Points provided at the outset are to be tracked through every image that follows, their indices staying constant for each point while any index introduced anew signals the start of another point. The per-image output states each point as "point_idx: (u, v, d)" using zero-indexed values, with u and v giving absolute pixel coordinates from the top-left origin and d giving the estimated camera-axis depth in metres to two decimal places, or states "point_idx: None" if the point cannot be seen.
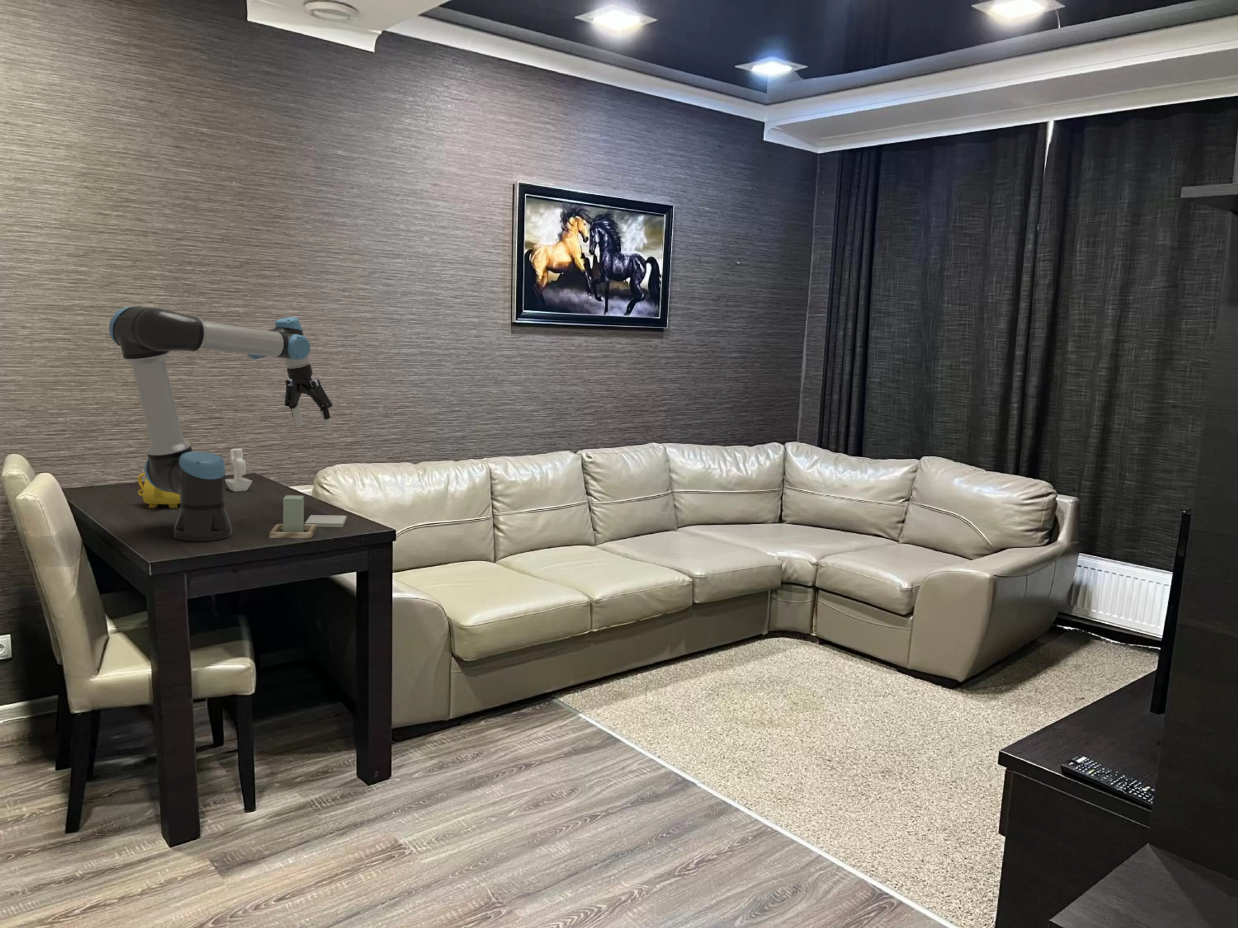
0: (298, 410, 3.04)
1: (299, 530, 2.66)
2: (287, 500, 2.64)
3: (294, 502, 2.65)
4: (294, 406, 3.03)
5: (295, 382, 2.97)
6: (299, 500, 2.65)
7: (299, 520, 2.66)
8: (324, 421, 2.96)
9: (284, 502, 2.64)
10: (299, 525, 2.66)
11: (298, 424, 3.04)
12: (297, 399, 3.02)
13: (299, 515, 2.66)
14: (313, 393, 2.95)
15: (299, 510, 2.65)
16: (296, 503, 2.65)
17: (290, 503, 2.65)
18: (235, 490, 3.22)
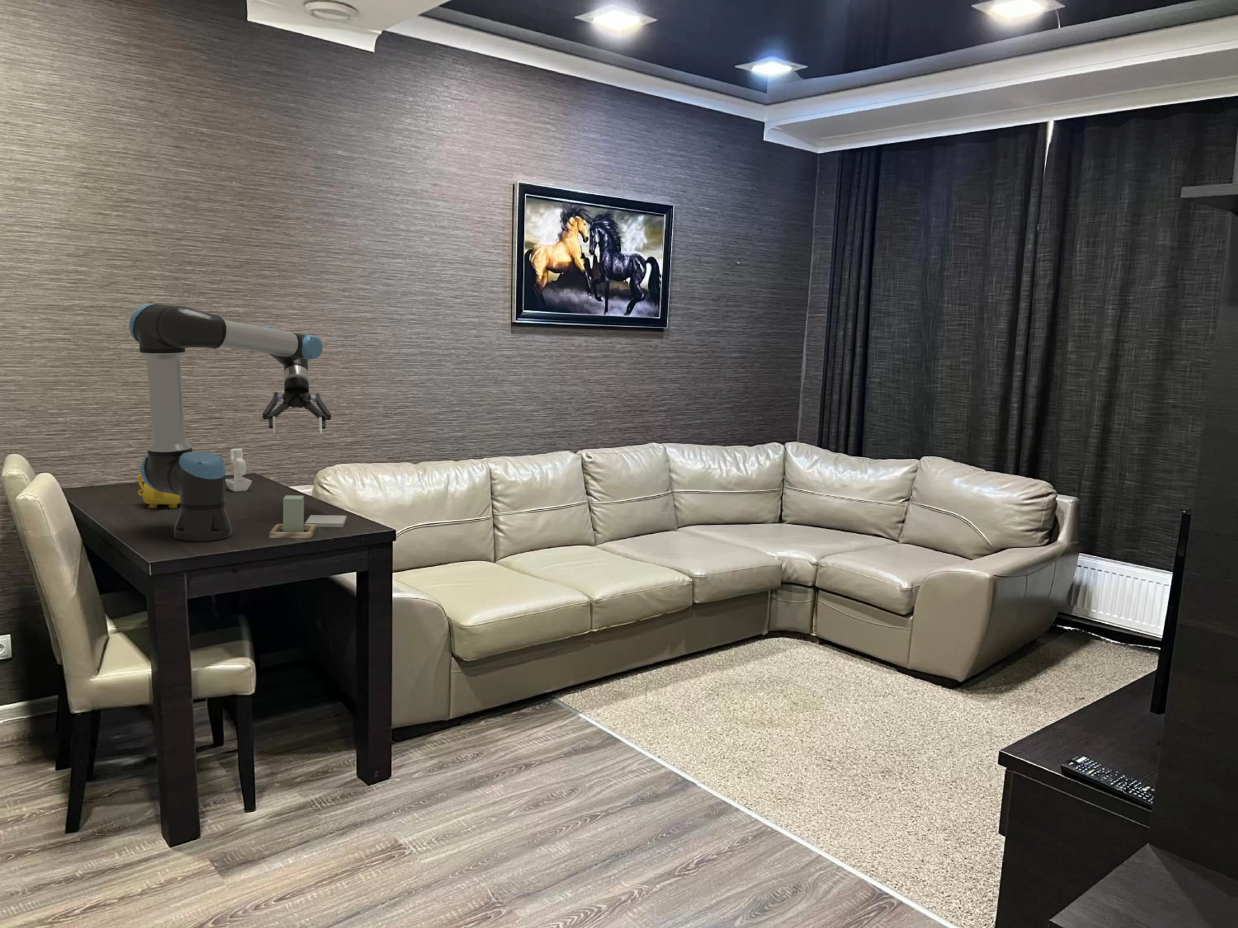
0: None
1: (299, 530, 2.66)
2: (287, 500, 2.64)
3: (294, 502, 2.65)
4: None
5: (290, 394, 2.88)
6: (299, 500, 2.65)
7: (299, 520, 2.66)
8: (321, 427, 2.84)
9: (284, 502, 2.64)
10: (299, 525, 2.66)
11: (275, 432, 2.79)
12: (279, 412, 2.85)
13: (299, 515, 2.66)
14: None
15: (299, 510, 2.65)
16: (296, 503, 2.65)
17: (290, 503, 2.65)
18: (235, 490, 3.22)
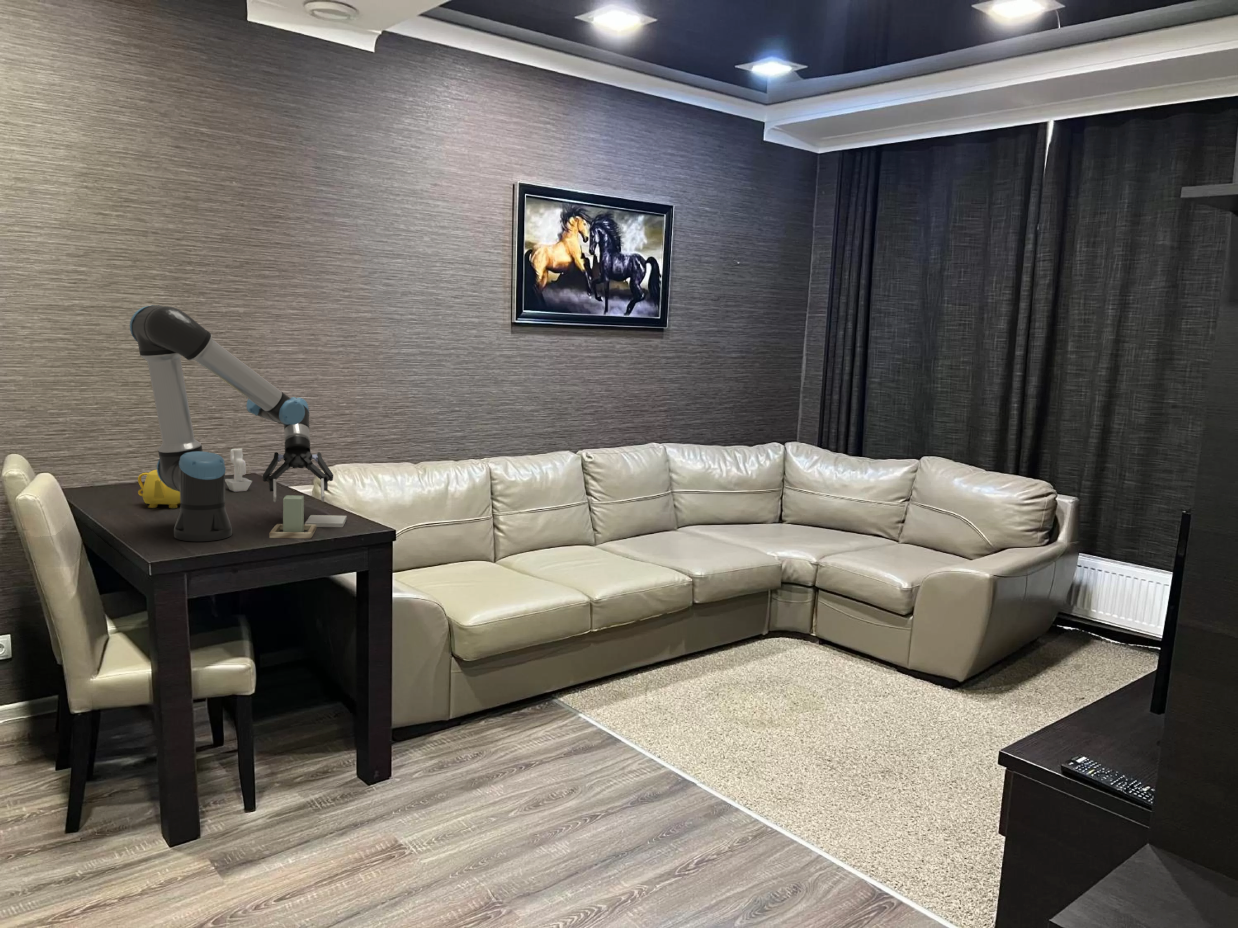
0: None
1: (299, 530, 2.66)
2: (287, 500, 2.64)
3: (294, 502, 2.65)
4: None
5: (290, 454, 2.79)
6: (299, 500, 2.65)
7: (299, 520, 2.66)
8: (324, 489, 2.76)
9: (284, 502, 2.64)
10: (299, 525, 2.66)
11: None
12: (280, 474, 2.76)
13: (299, 515, 2.66)
14: None
15: (299, 510, 2.65)
16: (296, 503, 2.65)
17: (290, 503, 2.65)
18: (235, 490, 3.22)
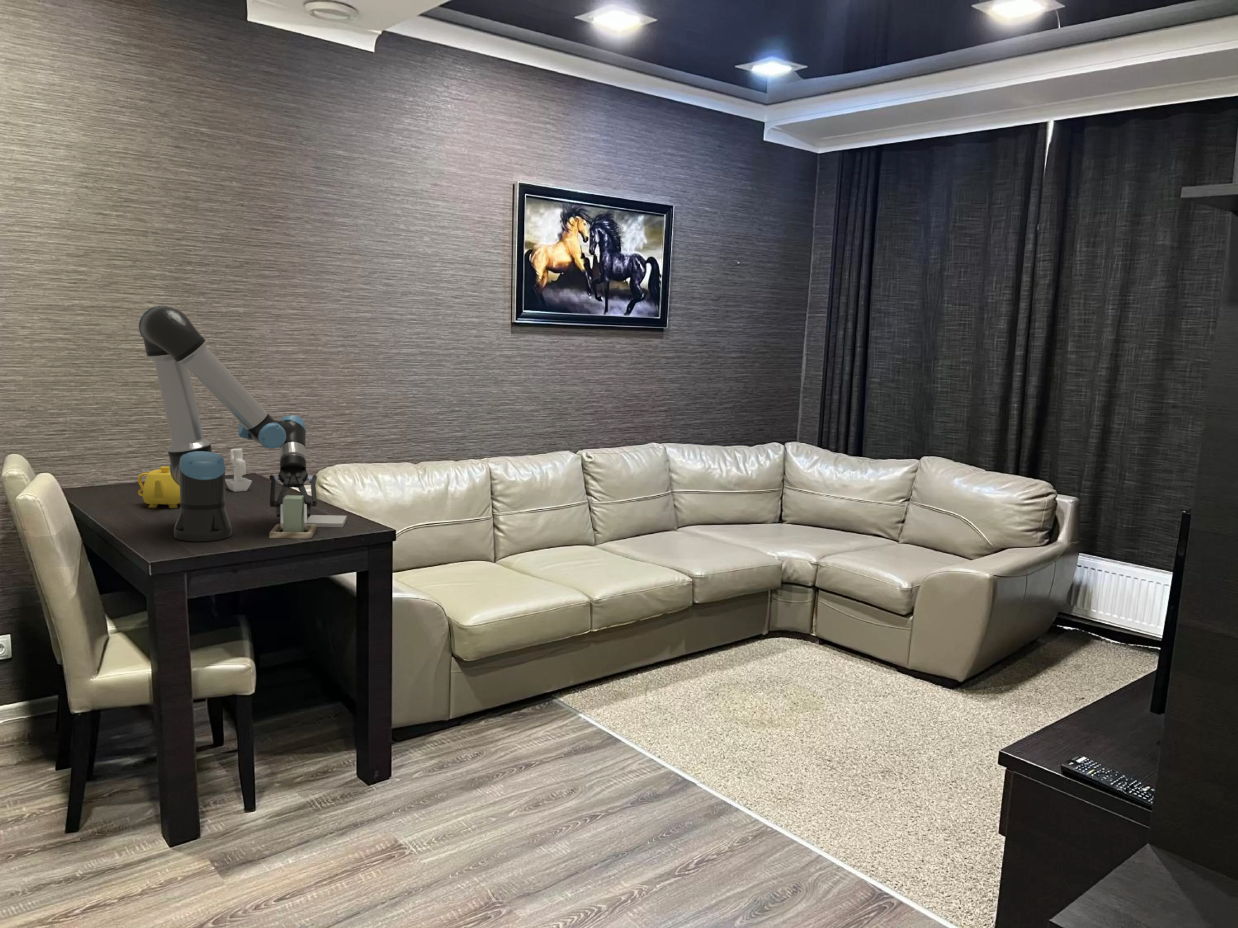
0: None
1: (299, 530, 2.66)
2: (287, 500, 2.64)
3: (294, 502, 2.65)
4: None
5: (285, 472, 2.73)
6: (299, 500, 2.65)
7: (299, 520, 2.66)
8: (306, 514, 2.67)
9: (284, 502, 2.64)
10: (299, 525, 2.66)
11: None
12: (284, 496, 2.70)
13: (299, 515, 2.66)
14: None
15: (299, 510, 2.65)
16: (296, 503, 2.65)
17: (290, 503, 2.65)
18: (235, 490, 3.22)
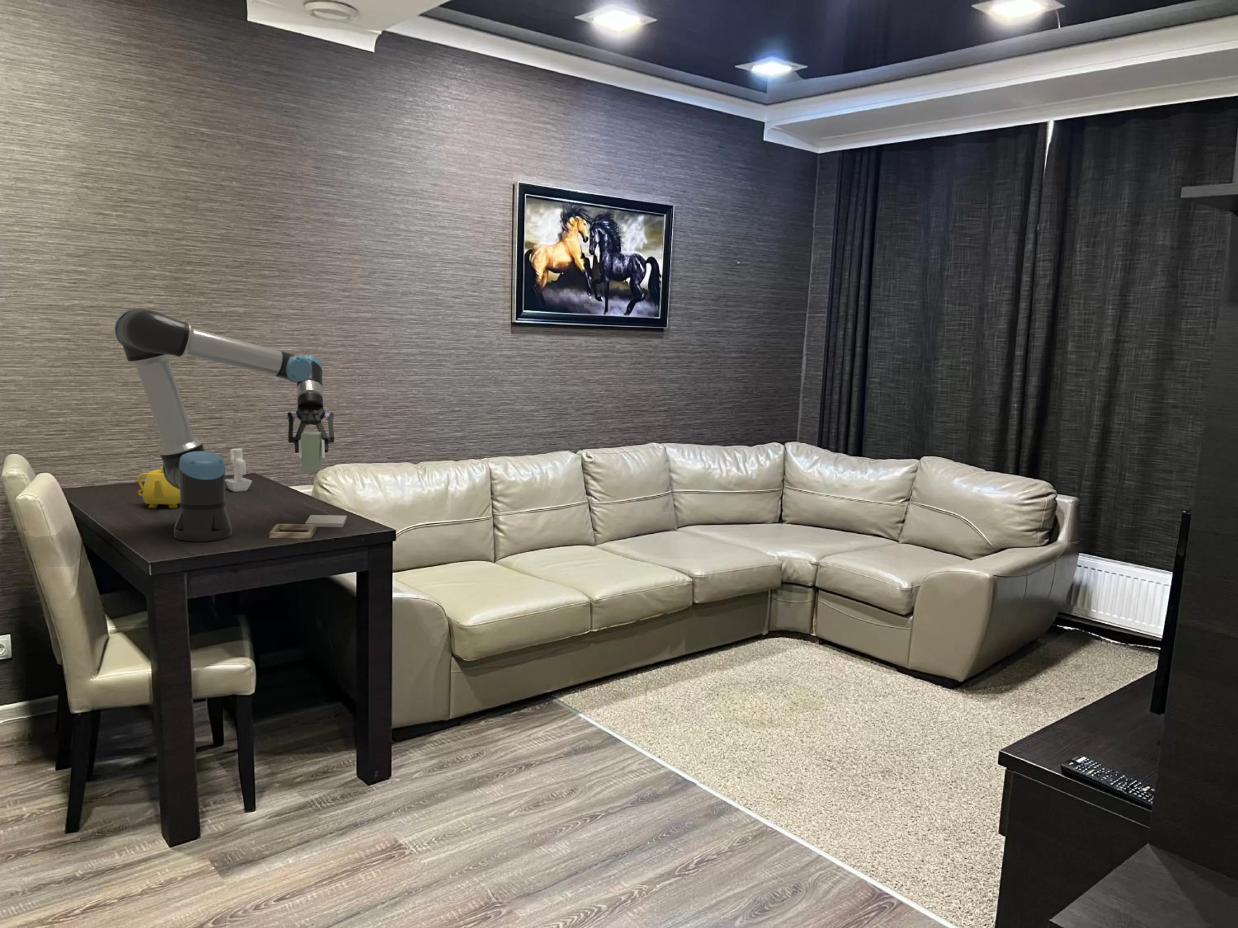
0: None
1: (317, 465, 2.70)
2: (304, 436, 2.68)
3: (311, 437, 2.69)
4: None
5: (302, 409, 2.77)
6: (317, 435, 2.69)
7: (317, 455, 2.70)
8: (324, 450, 2.71)
9: (302, 437, 2.68)
10: (317, 460, 2.70)
11: (301, 457, 2.68)
12: None
13: (317, 450, 2.69)
14: None
15: (317, 445, 2.69)
16: (313, 438, 2.69)
17: (308, 438, 2.68)
18: (235, 490, 3.22)
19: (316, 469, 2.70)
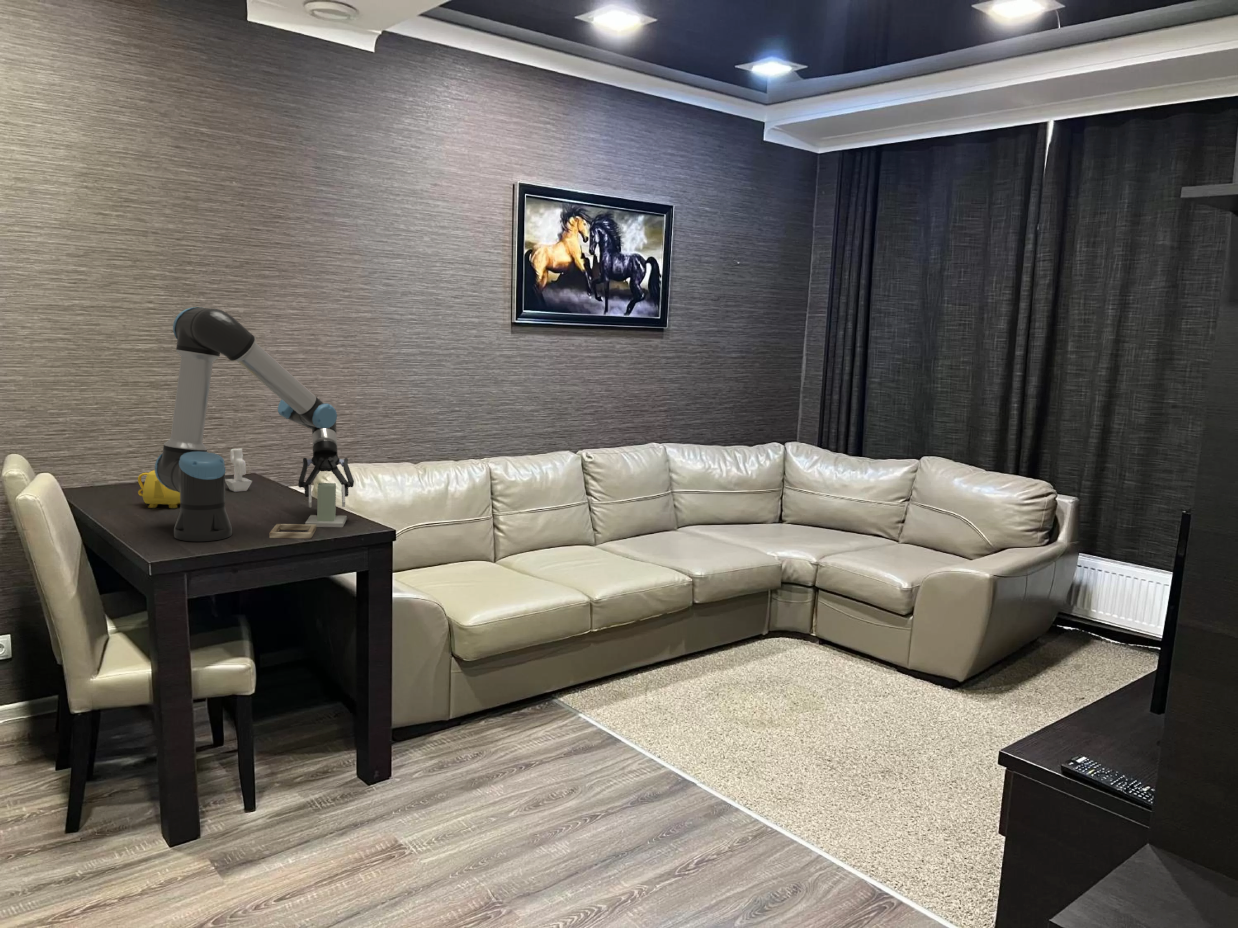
0: None
1: (332, 516, 2.82)
2: (321, 487, 2.80)
3: (327, 489, 2.80)
4: None
5: (318, 457, 2.88)
6: (332, 487, 2.80)
7: (332, 506, 2.81)
8: (344, 495, 2.83)
9: (318, 489, 2.79)
10: (332, 511, 2.81)
11: (311, 501, 2.78)
12: (313, 479, 2.84)
13: (332, 501, 2.81)
14: None
15: (332, 497, 2.81)
16: (329, 490, 2.80)
17: (324, 490, 2.80)
18: (235, 490, 3.22)
19: (331, 519, 2.82)
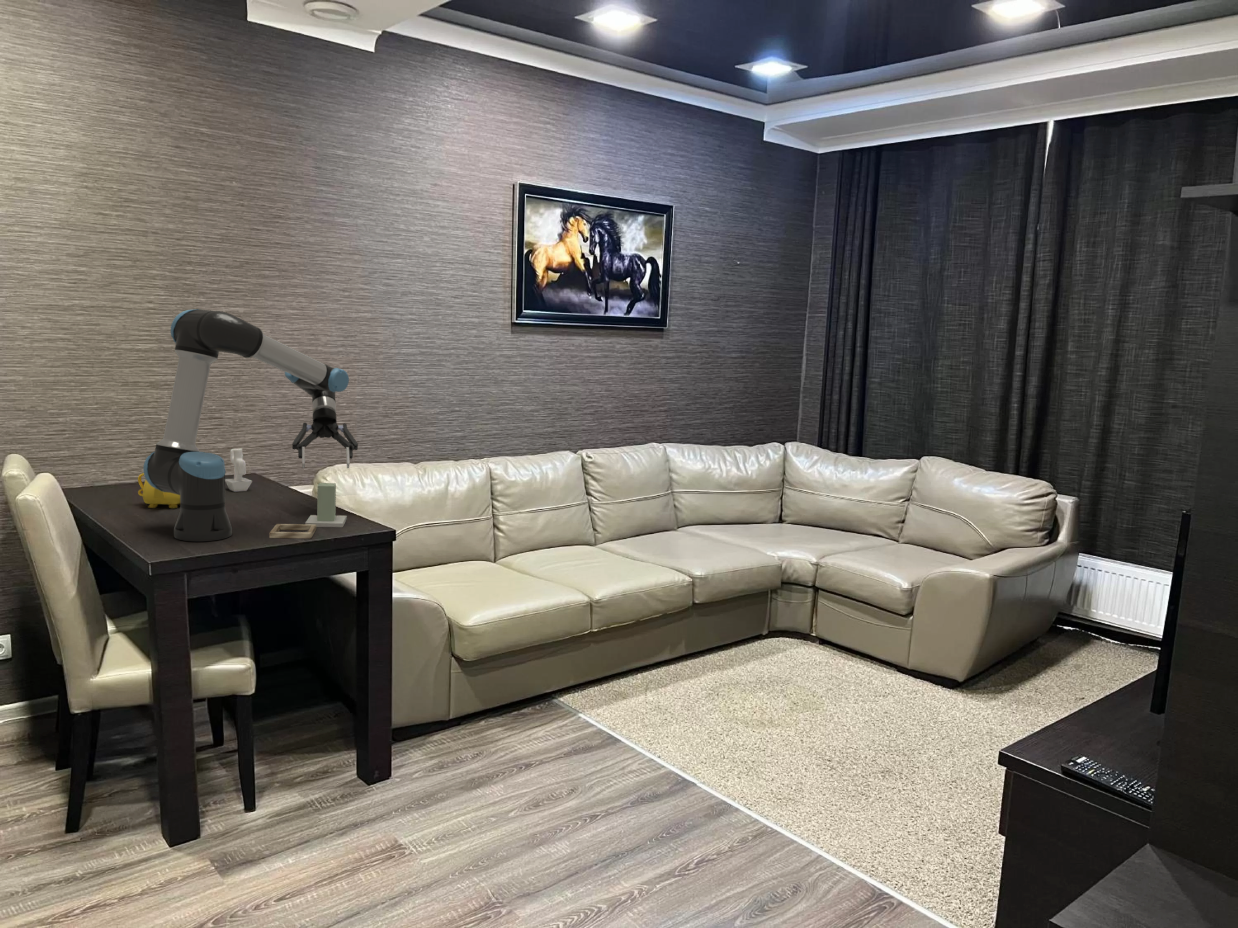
0: None
1: (332, 516, 2.82)
2: (321, 487, 2.80)
3: (327, 489, 2.80)
4: None
5: (318, 424, 2.97)
6: (332, 487, 2.80)
7: (332, 506, 2.81)
8: (349, 456, 2.94)
9: (318, 489, 2.79)
10: (332, 511, 2.81)
11: (304, 462, 2.88)
12: (308, 442, 2.94)
13: (332, 501, 2.81)
14: None
15: (332, 497, 2.81)
16: (329, 490, 2.80)
17: (324, 490, 2.80)
18: (235, 490, 3.22)
19: (331, 519, 2.82)
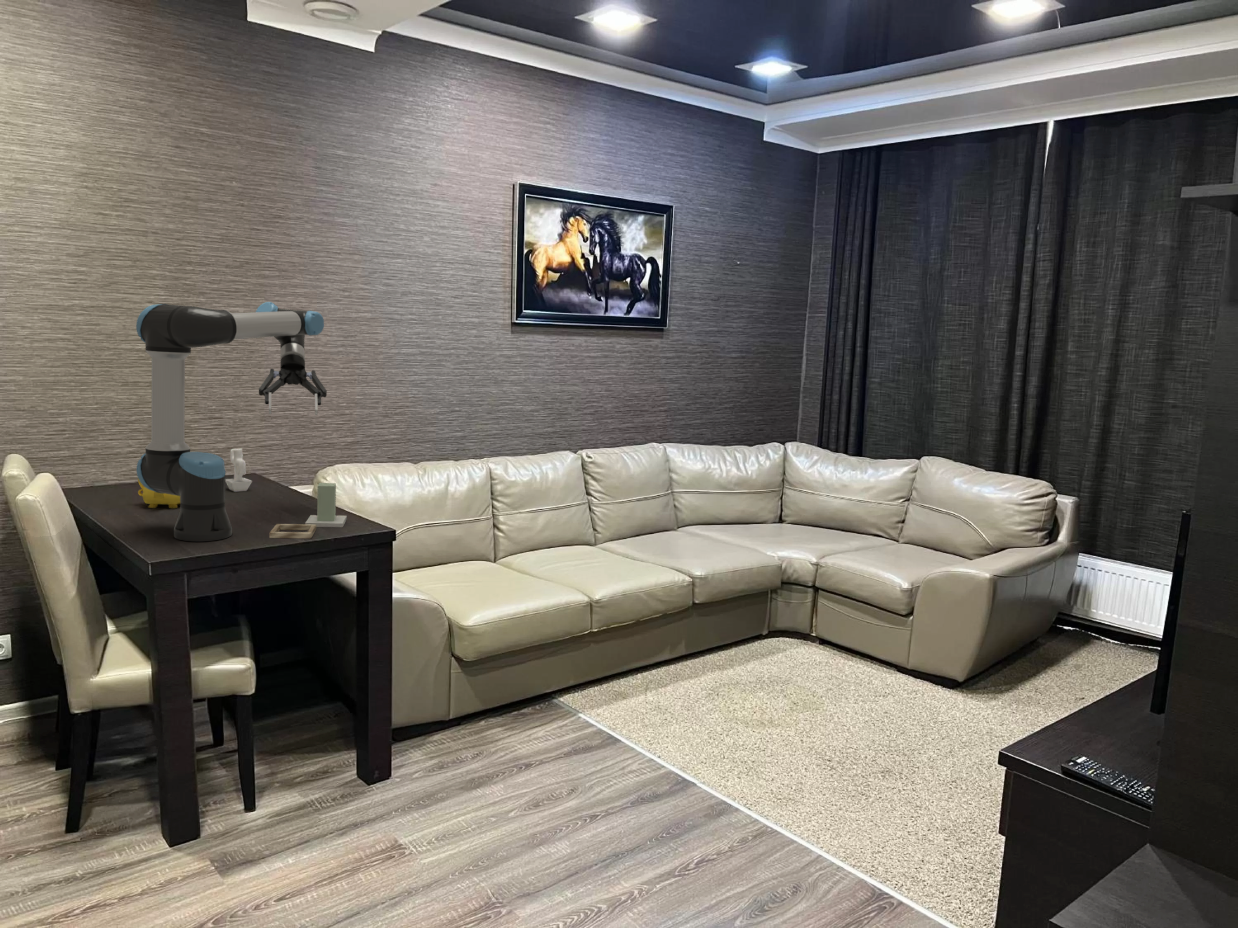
0: None
1: (332, 516, 2.82)
2: (321, 487, 2.80)
3: (327, 489, 2.80)
4: None
5: (286, 371, 2.91)
6: (332, 487, 2.80)
7: (332, 506, 2.81)
8: (317, 403, 2.87)
9: (318, 489, 2.79)
10: (332, 511, 2.81)
11: None
12: (275, 389, 2.87)
13: (332, 501, 2.81)
14: None
15: (332, 497, 2.81)
16: (329, 490, 2.80)
17: (324, 490, 2.80)
18: (235, 490, 3.22)
19: (331, 519, 2.82)
